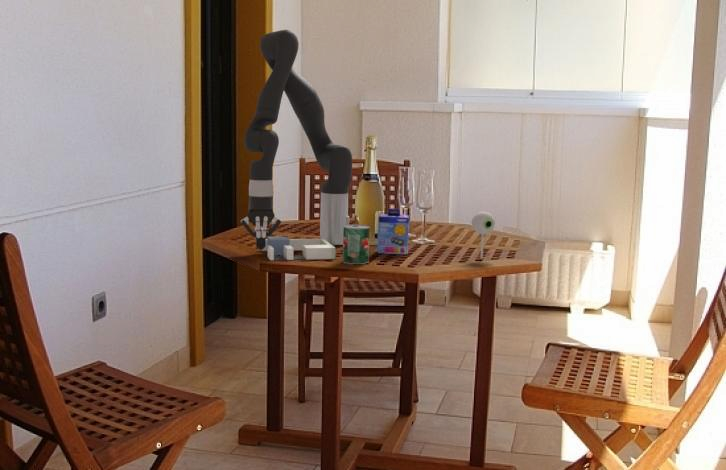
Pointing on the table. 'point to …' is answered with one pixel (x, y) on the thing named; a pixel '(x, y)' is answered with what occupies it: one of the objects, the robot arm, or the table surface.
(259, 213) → the robot arm
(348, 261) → the canned tomato
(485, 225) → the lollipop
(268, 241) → the block
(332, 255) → the white open shelf
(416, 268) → the table surface
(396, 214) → the ink cartridge box
